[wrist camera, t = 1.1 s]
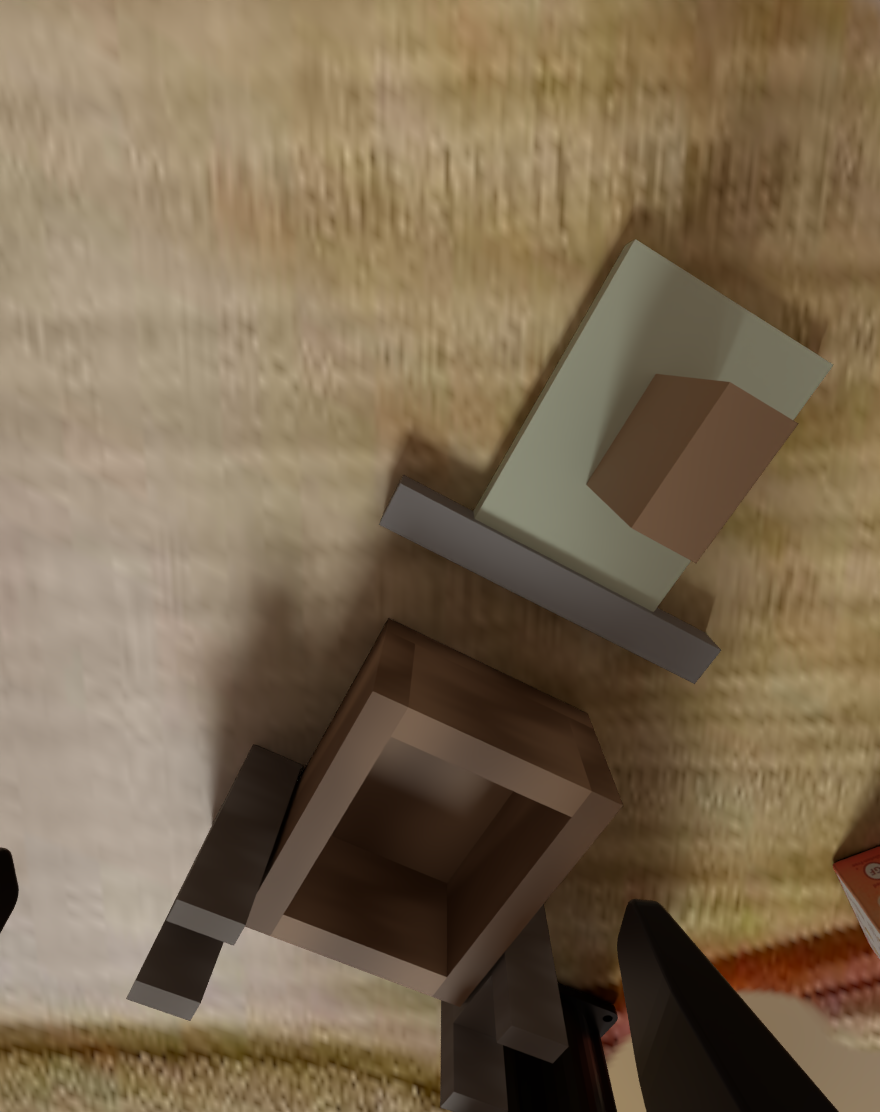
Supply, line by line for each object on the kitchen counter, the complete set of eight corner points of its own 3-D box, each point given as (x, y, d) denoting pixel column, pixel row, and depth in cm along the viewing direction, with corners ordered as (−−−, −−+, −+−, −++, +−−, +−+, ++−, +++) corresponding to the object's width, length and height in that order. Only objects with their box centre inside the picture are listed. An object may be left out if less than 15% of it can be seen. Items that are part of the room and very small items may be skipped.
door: (875, 405, 19) (1060, 428, 14) (678, 661, 23) (758, 769, 17) (546, 197, 17) (597, 120, 12) (384, 512, 21) (359, 575, 15)
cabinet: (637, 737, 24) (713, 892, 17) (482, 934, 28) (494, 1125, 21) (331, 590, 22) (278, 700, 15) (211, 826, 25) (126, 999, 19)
